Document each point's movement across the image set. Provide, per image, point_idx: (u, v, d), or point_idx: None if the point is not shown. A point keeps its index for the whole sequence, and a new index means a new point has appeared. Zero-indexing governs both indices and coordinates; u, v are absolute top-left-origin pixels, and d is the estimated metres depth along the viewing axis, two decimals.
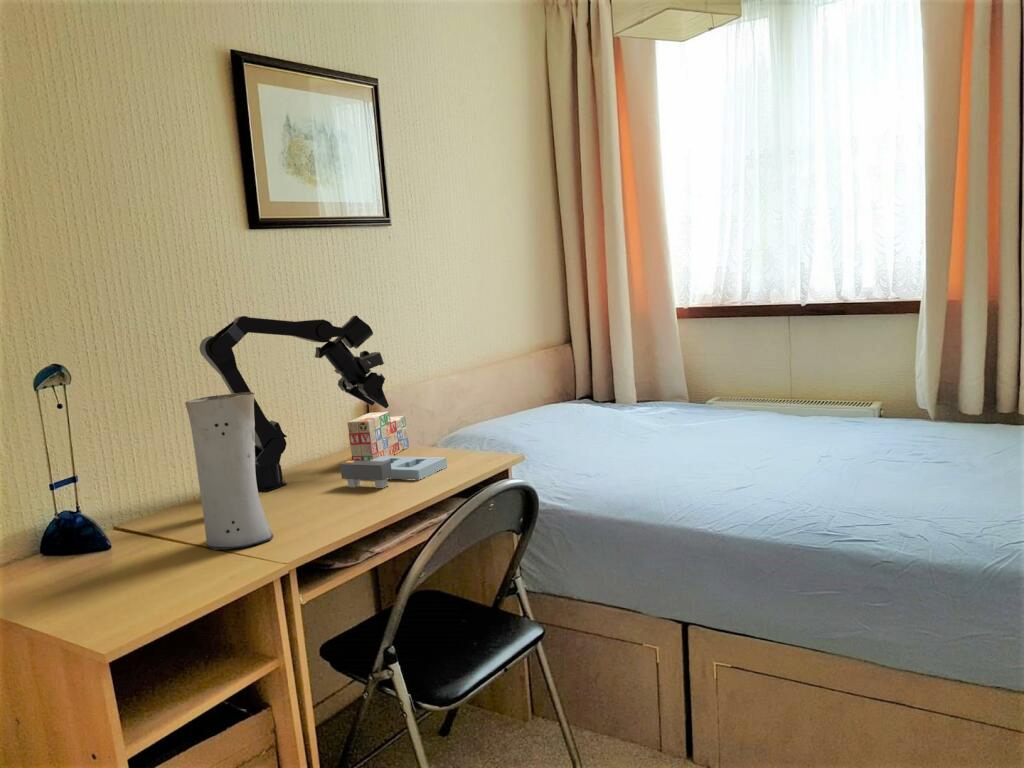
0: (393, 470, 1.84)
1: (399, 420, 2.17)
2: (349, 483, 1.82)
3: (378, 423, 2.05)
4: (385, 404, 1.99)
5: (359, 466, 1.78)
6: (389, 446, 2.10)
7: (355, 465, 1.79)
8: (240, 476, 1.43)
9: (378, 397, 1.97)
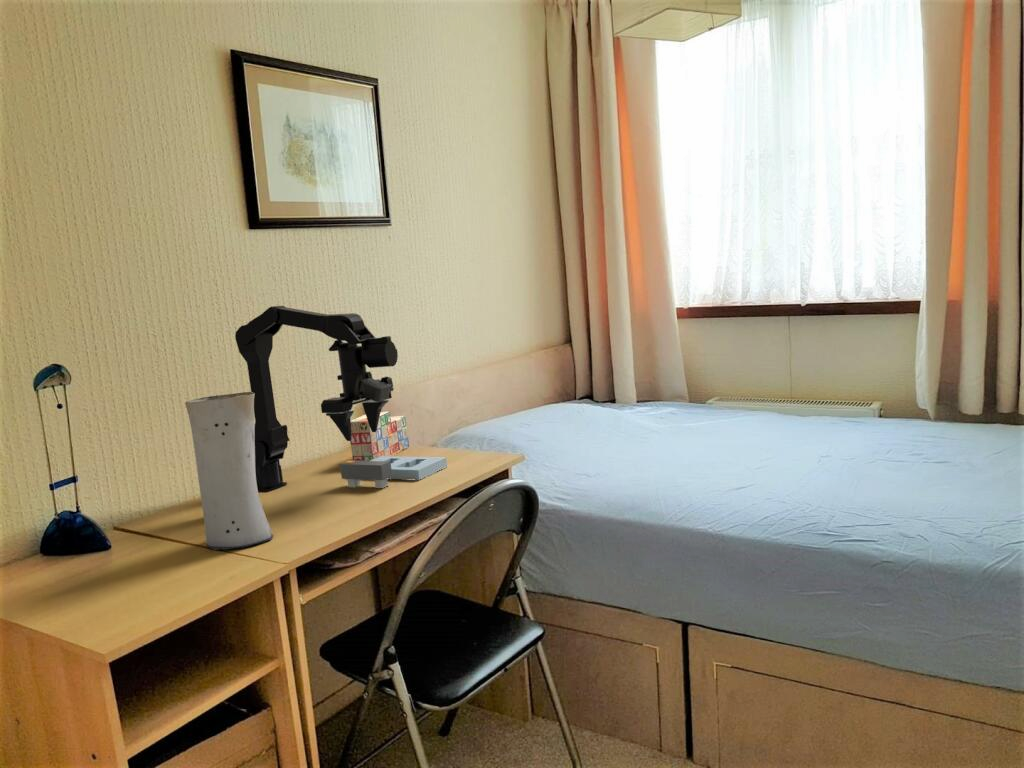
0: (393, 470, 1.84)
1: (399, 420, 2.17)
2: (349, 483, 1.82)
3: (378, 422, 2.05)
4: (347, 436, 1.74)
5: (359, 466, 1.78)
6: (389, 446, 2.10)
7: (355, 465, 1.79)
8: (240, 476, 1.43)
9: (341, 425, 1.74)
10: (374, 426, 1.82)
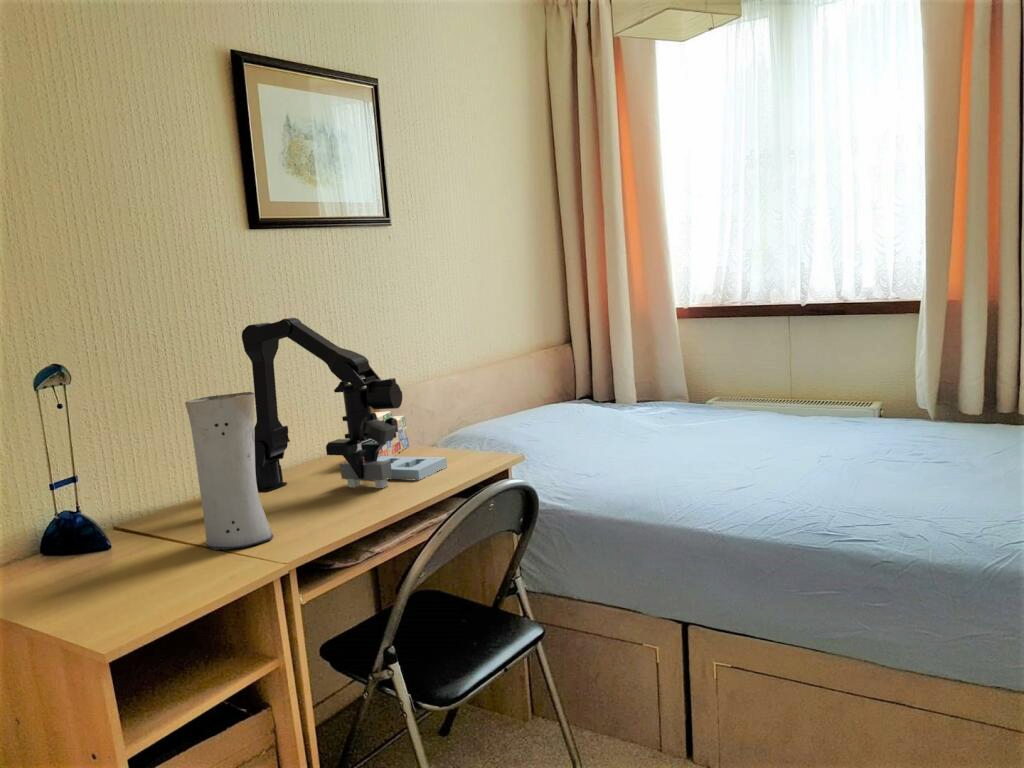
0: (393, 470, 1.84)
1: (400, 420, 2.17)
2: (349, 483, 1.82)
3: None
4: (359, 474, 1.78)
5: None
6: (392, 445, 2.11)
7: None
8: (240, 476, 1.43)
9: (354, 463, 1.77)
10: None
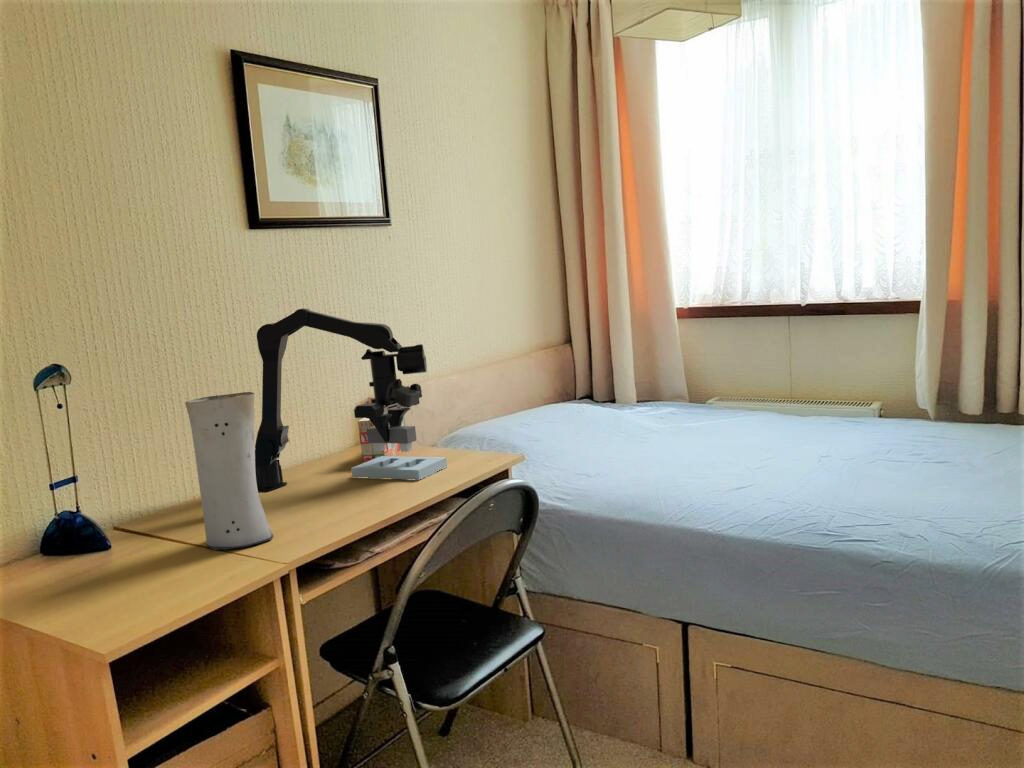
0: (393, 470, 1.84)
1: None
2: (375, 447, 1.90)
3: None
4: (385, 437, 1.86)
5: None
6: (395, 445, 2.11)
7: None
8: (240, 476, 1.43)
9: (380, 427, 1.86)
10: None
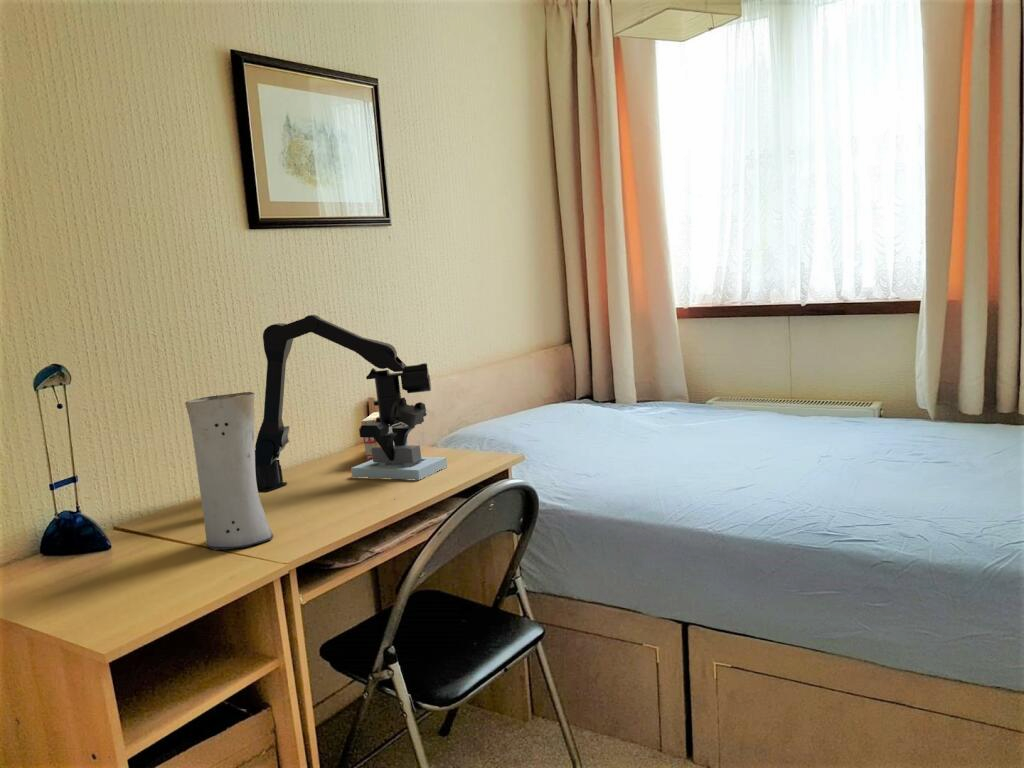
0: (393, 470, 1.84)
1: None
2: None
3: None
4: (390, 456, 1.88)
5: None
6: None
7: None
8: (240, 476, 1.43)
9: (385, 445, 1.87)
10: None
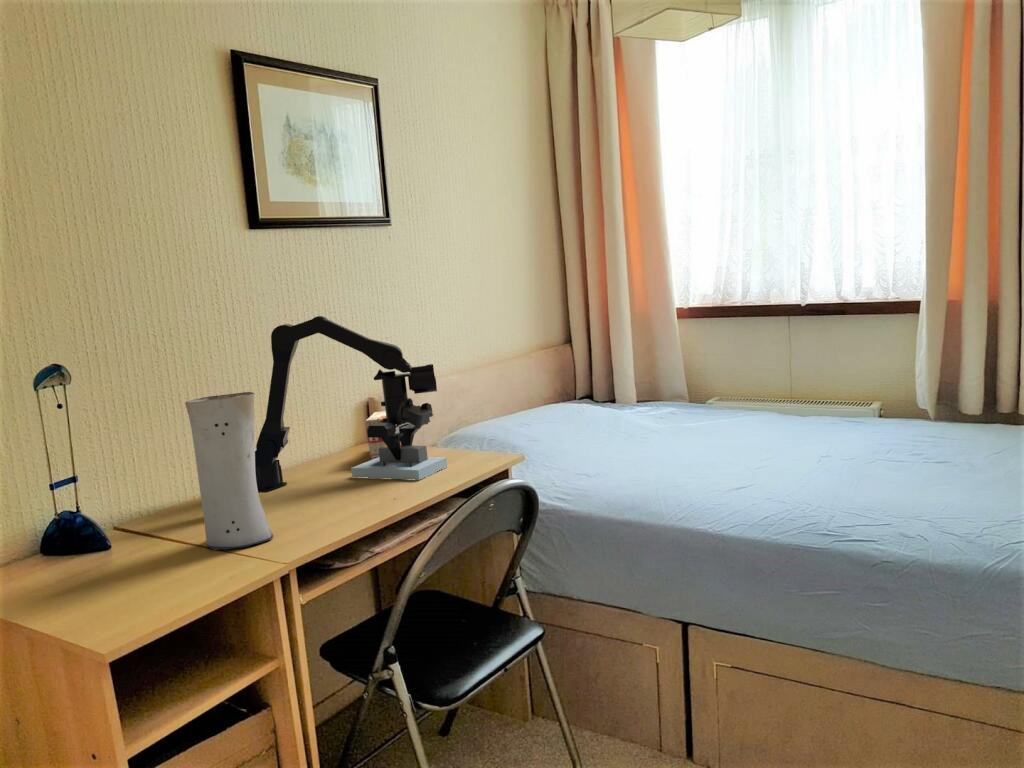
0: (393, 470, 1.84)
1: None
2: None
3: None
4: (396, 456, 1.90)
5: None
6: None
7: None
8: (240, 476, 1.43)
9: (391, 445, 1.90)
10: None
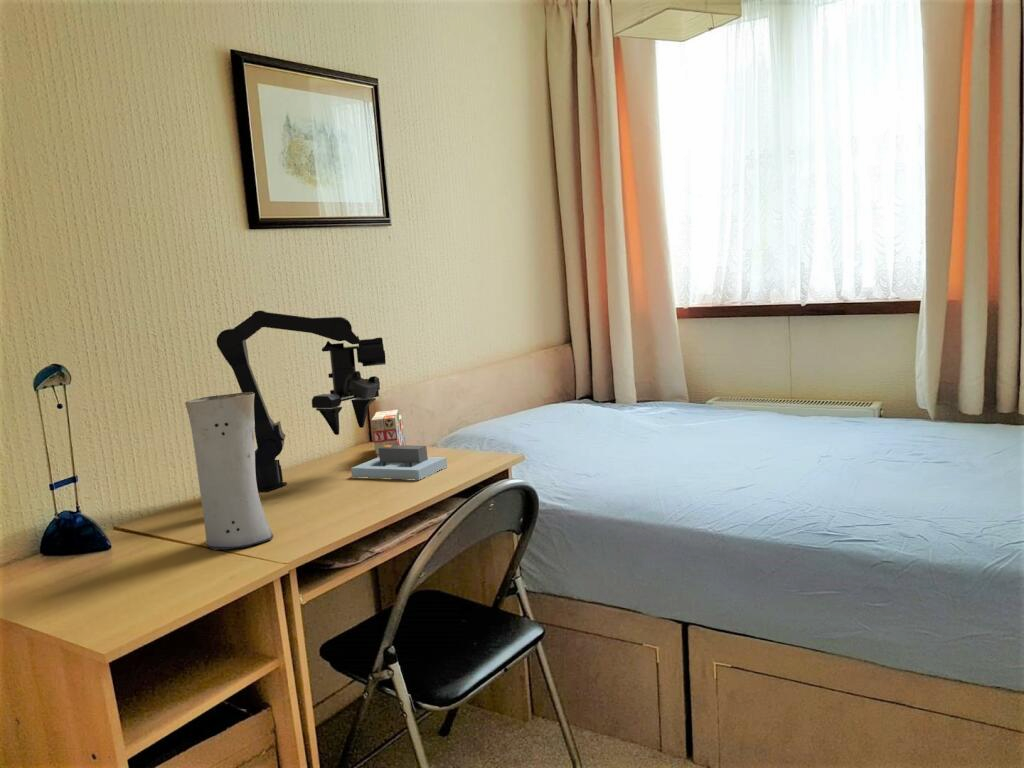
0: (393, 470, 1.84)
1: (401, 418, 2.19)
2: None
3: None
4: (335, 430, 1.88)
5: (397, 450, 1.91)
6: (401, 443, 2.12)
7: (393, 449, 1.91)
8: (240, 476, 1.43)
9: (330, 419, 1.87)
10: (361, 422, 1.96)
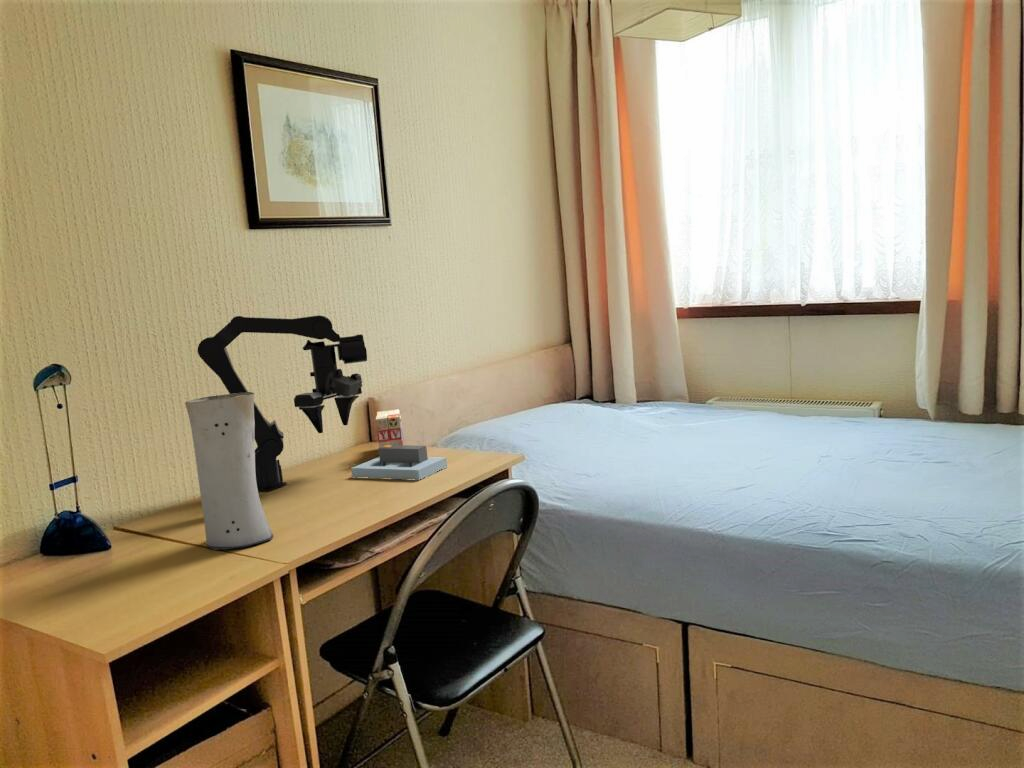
0: (393, 470, 1.84)
1: None
2: None
3: None
4: (318, 429, 1.88)
5: (397, 450, 1.91)
6: (403, 443, 2.13)
7: (393, 449, 1.91)
8: (240, 476, 1.43)
9: (313, 418, 1.87)
10: (345, 419, 1.96)
